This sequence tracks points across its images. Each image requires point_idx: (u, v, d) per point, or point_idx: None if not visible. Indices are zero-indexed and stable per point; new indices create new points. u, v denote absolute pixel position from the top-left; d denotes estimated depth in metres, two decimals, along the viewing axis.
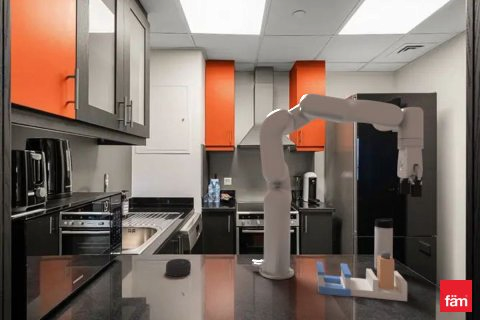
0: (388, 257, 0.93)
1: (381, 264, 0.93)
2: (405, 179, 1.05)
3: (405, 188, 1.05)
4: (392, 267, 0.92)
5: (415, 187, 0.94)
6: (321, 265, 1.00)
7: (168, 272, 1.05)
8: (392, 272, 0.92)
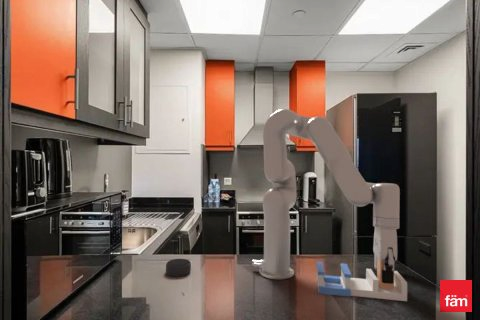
0: None
1: (381, 264, 0.93)
2: None
3: None
4: None
5: (387, 273, 0.91)
6: (321, 265, 1.00)
7: (168, 272, 1.05)
8: None
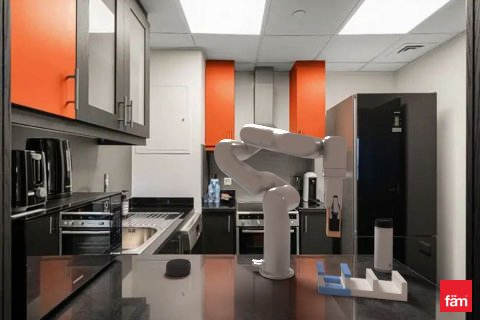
0: None
1: (328, 213, 0.96)
2: None
3: None
4: (339, 216, 0.96)
5: (333, 221, 0.95)
6: (321, 265, 1.00)
7: (168, 272, 1.05)
8: None
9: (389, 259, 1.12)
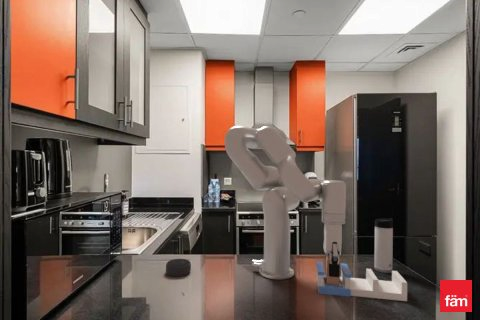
0: None
1: (327, 264, 0.96)
2: None
3: None
4: None
5: (333, 267, 0.93)
6: (321, 265, 1.00)
7: (168, 272, 1.05)
8: None
9: (389, 259, 1.12)
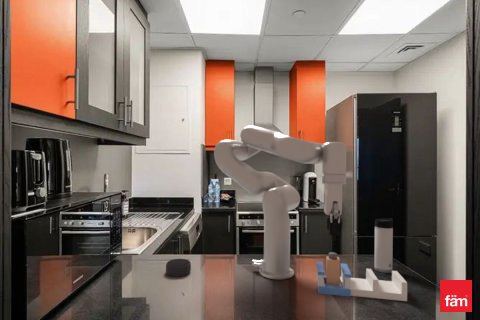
0: (334, 258, 0.97)
1: (327, 264, 0.96)
2: None
3: None
4: (338, 267, 0.95)
5: (334, 226, 0.93)
6: (321, 265, 1.00)
7: (168, 272, 1.05)
8: (338, 272, 0.95)
9: (389, 259, 1.12)
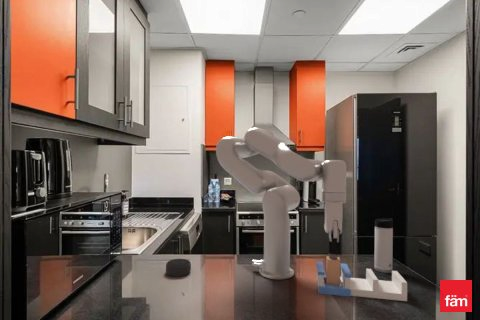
0: (335, 258, 0.97)
1: (328, 264, 0.96)
2: None
3: None
4: (338, 267, 0.95)
5: (333, 245, 0.96)
6: (321, 265, 1.00)
7: (168, 272, 1.05)
8: (338, 272, 0.95)
9: (389, 259, 1.12)
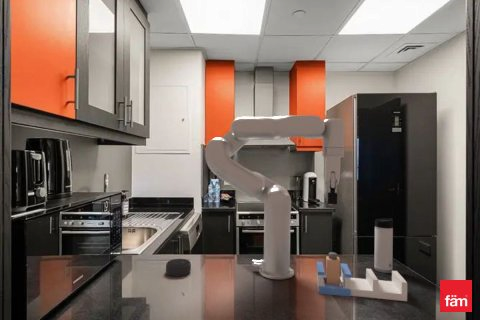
0: (334, 258, 0.97)
1: (327, 264, 0.96)
2: None
3: None
4: (338, 267, 0.95)
5: (331, 195, 1.06)
6: (321, 265, 1.00)
7: (168, 272, 1.05)
8: (338, 272, 0.95)
9: (389, 259, 1.12)
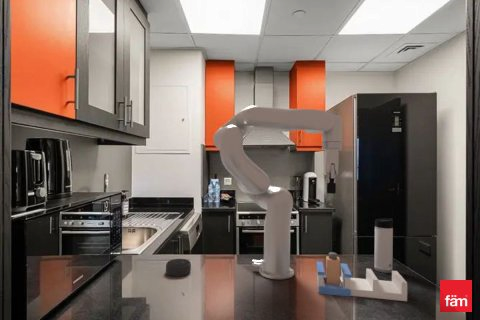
0: (334, 258, 0.97)
1: (327, 264, 0.96)
2: None
3: None
4: (338, 267, 0.95)
5: (330, 185, 1.16)
6: (321, 265, 1.00)
7: (168, 272, 1.05)
8: (338, 272, 0.95)
9: (389, 259, 1.12)
